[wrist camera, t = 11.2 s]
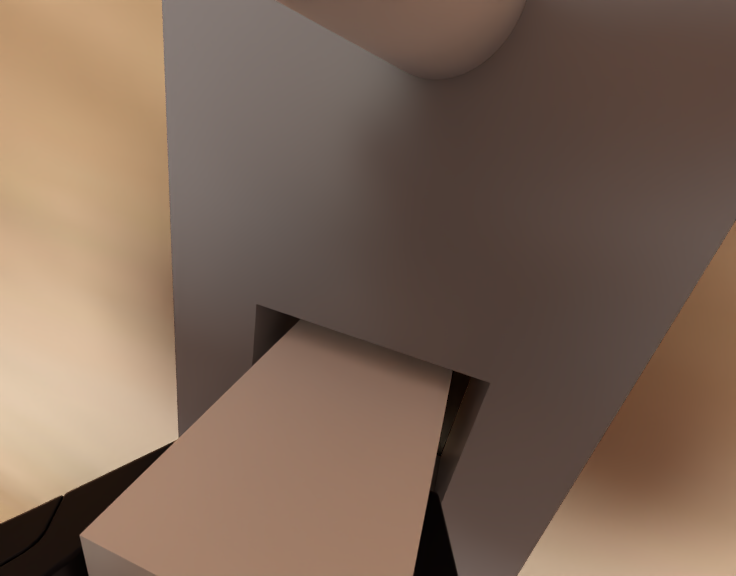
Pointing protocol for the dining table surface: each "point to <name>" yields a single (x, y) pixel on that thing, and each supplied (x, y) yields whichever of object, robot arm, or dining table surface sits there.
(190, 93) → the socket block
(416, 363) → the plug
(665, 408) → the dining table surface
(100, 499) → the robot arm
